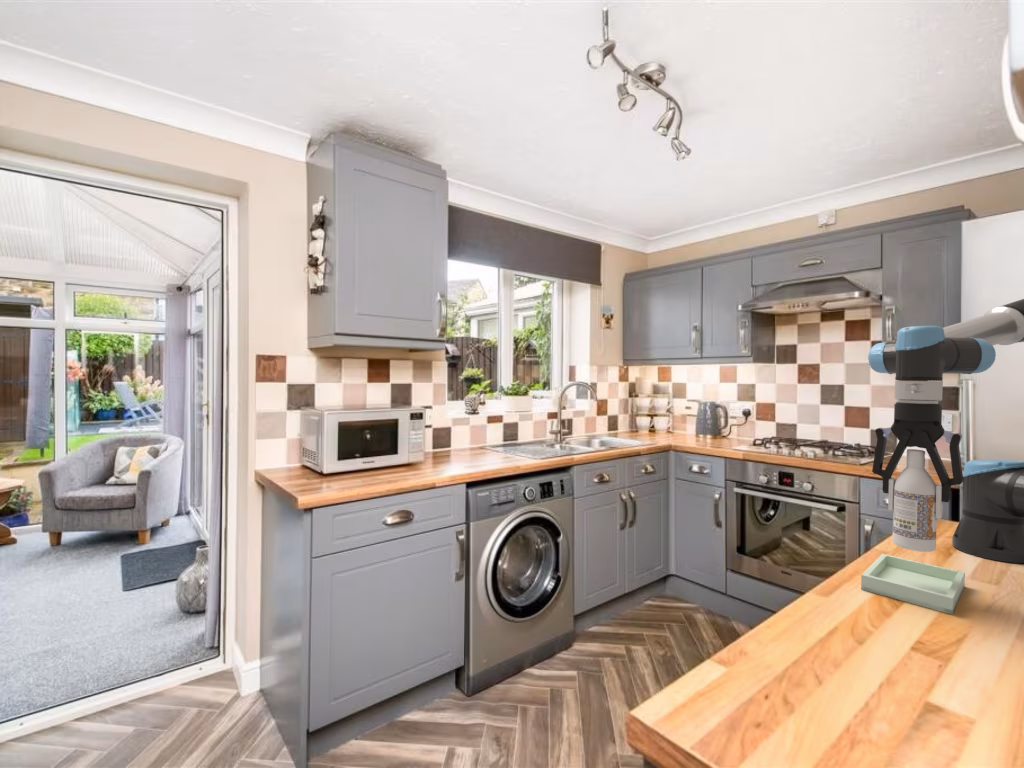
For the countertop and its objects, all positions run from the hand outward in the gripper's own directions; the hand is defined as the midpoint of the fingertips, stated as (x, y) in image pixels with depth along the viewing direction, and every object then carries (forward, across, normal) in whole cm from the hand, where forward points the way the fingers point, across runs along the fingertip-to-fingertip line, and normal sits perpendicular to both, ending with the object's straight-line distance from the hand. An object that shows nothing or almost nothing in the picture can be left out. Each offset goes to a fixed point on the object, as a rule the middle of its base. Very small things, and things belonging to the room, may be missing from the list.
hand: (914, 513), depth 101 cm
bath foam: (+7, 0, 0) cm, 7 cm away
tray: (+16, 0, 0) cm, 16 cm away
